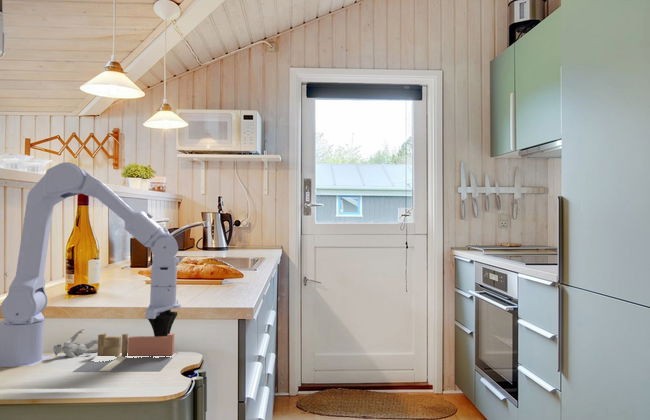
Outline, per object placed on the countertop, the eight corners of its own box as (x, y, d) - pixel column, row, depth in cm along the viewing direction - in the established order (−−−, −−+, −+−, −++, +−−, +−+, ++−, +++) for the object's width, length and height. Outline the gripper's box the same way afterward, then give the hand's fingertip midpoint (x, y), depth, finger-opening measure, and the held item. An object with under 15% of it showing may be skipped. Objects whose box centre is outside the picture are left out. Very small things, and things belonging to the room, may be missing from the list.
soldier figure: (116, 357, 103) (70, 353, 93) (102, 370, 104) (54, 367, 94) (108, 330, 108) (63, 323, 98) (94, 343, 108) (48, 337, 98)
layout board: (72, 374, 87) (72, 371, 88) (102, 355, 101) (102, 352, 101) (160, 374, 89) (160, 370, 89) (178, 354, 103) (178, 351, 103)
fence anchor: (97, 356, 98) (98, 334, 98) (99, 355, 99) (100, 333, 99) (126, 356, 98) (126, 334, 99) (128, 355, 100) (128, 333, 100)
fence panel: (127, 355, 98) (128, 335, 99) (129, 354, 100) (130, 333, 100) (172, 355, 99) (172, 334, 99) (173, 354, 100) (174, 333, 101)
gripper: (168, 289, 97) (166, 352, 96) (190, 282, 111) (189, 337, 111) (137, 289, 97) (134, 352, 96) (162, 281, 111) (161, 336, 111)
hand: (161, 344), depth 103 cm, fingers closed
